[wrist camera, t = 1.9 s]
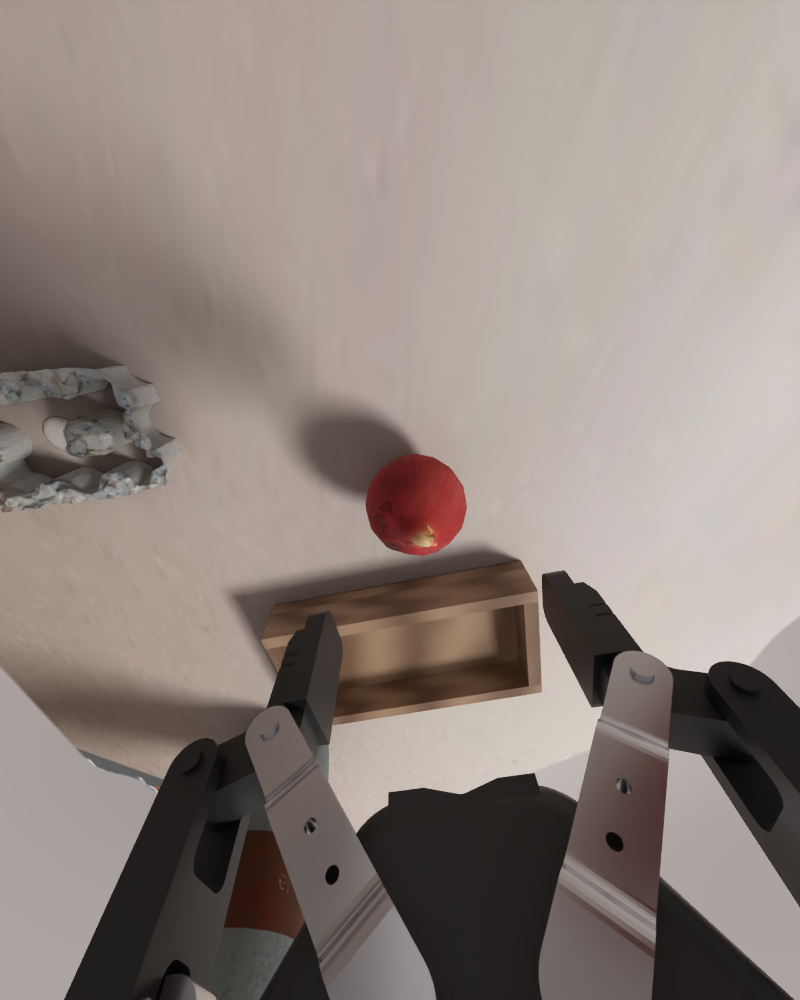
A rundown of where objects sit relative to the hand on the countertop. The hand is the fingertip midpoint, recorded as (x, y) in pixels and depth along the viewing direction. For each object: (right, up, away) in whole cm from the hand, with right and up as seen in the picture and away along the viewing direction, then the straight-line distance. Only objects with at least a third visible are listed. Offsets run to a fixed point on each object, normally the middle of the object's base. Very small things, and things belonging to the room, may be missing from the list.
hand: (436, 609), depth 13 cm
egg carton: (-21, +9, +9) cm, 24 cm away
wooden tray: (-1, -7, +17) cm, 19 cm away
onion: (-1, +6, +11) cm, 13 cm away
